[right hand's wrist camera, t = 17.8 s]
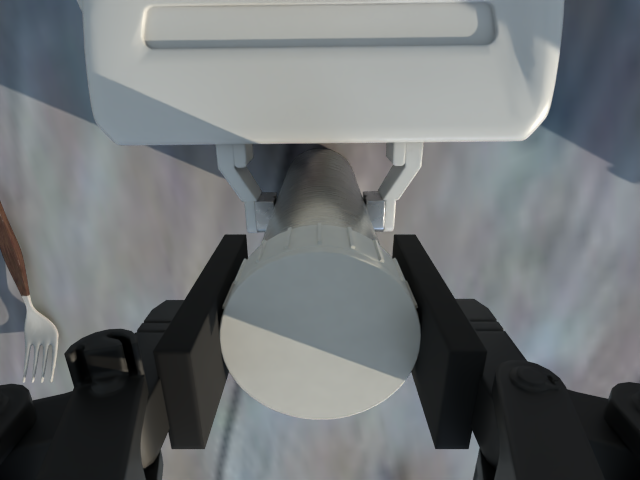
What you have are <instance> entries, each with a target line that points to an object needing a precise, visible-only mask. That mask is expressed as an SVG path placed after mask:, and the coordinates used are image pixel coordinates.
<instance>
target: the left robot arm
mask: <svg viewBox="0 0 640 480" xmlns="http://www.w3.org/2000/svg"><path fill="white" fill-rule="evenodd" d="M564 1H565V0H77V2H78V5H79V7H80V9H81V11H82V13H83V35H84V52H85V62H86V73H87V81H88V89H89V95H90V102H91V108H92V113H93V117H94V120H95V122H96V124H97V125H98V126H99V127H100V128H101V130H102V131H103V132H104V133H105V134H106V135H107V136H108V137H109V138H110V139H111V140H112V141H113V142H114V143H116V144H118V145H209V144H215V146H216V155H217V164H218V169H219V170H220V172H221V173H222V175H223V176H224V177H225V179H226V180H227V182H228V183H229V184H230V186H231V187H232V189H233V190H234V191H235V193H236V194H237V195H238V197H239V198H240V200H241V201H243V202H244V203H245V215H246V226H247V231H248V233H258V232H265V231H266V229H267V226H268V223H269V220H270V218H271V215H272V212H273V209H274V207H275V204H276V201H277V192H262V191H261V189H260V188H259V186H258V184H257V183H256V181H255V180H254V178H253V176H252V175H251V173H250V172H249V170H248V169H247V167H246V165H247V164H248V163H249V162H250V161H251V160H252V159H253V144H299V143H386V157H387V158H388V159H389V160H390V161H391V162H392V164H393V166H392V168H391V170H390V171H389V173H388V174H387V176H386V178H385V179H384V181H383V183H382V184H381V186H380V188H379V189H378V191H366V192H363V200H364V203H365V206H366V208H367V211H368V214H369V217H370V219H371V222H372V225H373V228H374V230H375V231H393V229H394V220H395V204H396V200H399V198H400V197H401V195H402V194H403V192H404V191H405V189H406V188H407V187H408V185H409V184H410V182H411V181H412V179H413V178H414V176H415V175H416V174H417V172H418V171H419V169H420V168H421V165H422V154H423V143H424V142H480V141H522V140H525V139H527V138H528V137H529V136H530V135H531V134H532V133H533V132H534V131H535V130H536V129H537V128H538V126H539V125H540V124H541V123H542V122H543V121H544V120H545V118H546V117H547V115H548V112H549V109H550V106H551V102H552V97H553V92H554V87H555V81H556V75H557V69H558V62H559V55H560V47H561V38H562V28H563V17H564Z"/></svg>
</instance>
